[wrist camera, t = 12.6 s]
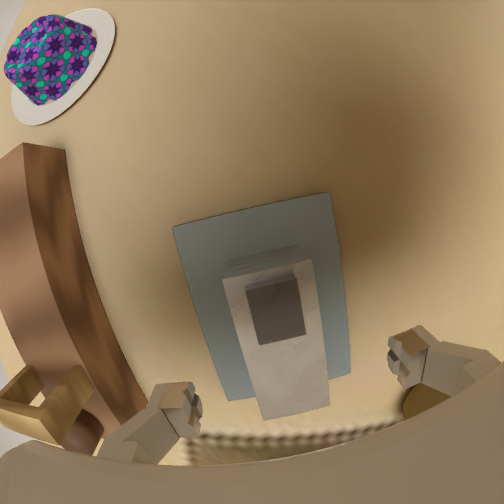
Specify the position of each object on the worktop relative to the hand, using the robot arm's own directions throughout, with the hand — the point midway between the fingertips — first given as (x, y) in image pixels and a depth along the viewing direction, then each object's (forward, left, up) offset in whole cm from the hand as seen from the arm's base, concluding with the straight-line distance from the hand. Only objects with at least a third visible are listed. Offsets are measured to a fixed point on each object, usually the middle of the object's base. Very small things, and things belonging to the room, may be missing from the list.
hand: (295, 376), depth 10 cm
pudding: (-23, -13, -9) cm, 28 cm away
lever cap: (+2, 0, -8) cm, 8 cm away
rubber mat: (+1, 0, -9) cm, 9 cm away
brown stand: (-3, -16, -9) cm, 19 cm away
